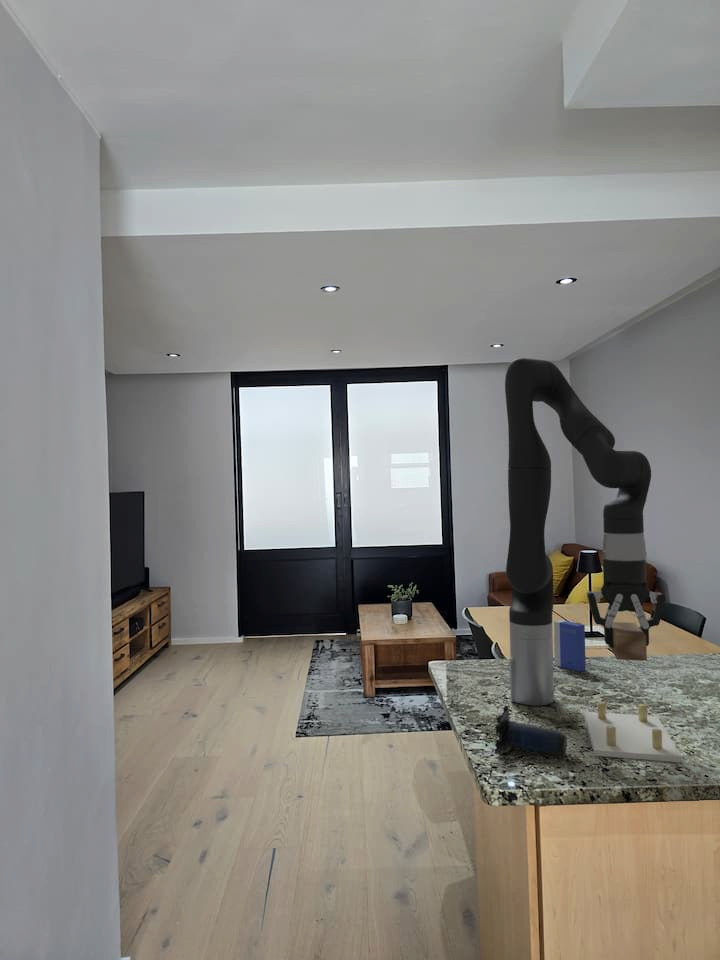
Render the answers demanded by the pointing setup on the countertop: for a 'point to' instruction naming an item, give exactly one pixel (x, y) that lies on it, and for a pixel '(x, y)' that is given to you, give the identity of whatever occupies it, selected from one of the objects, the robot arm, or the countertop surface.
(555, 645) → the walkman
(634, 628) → the brown rectangular block
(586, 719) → the board
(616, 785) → the countertop surface
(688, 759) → the countertop surface
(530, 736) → the beverage can
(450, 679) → the countertop surface
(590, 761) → the countertop surface
